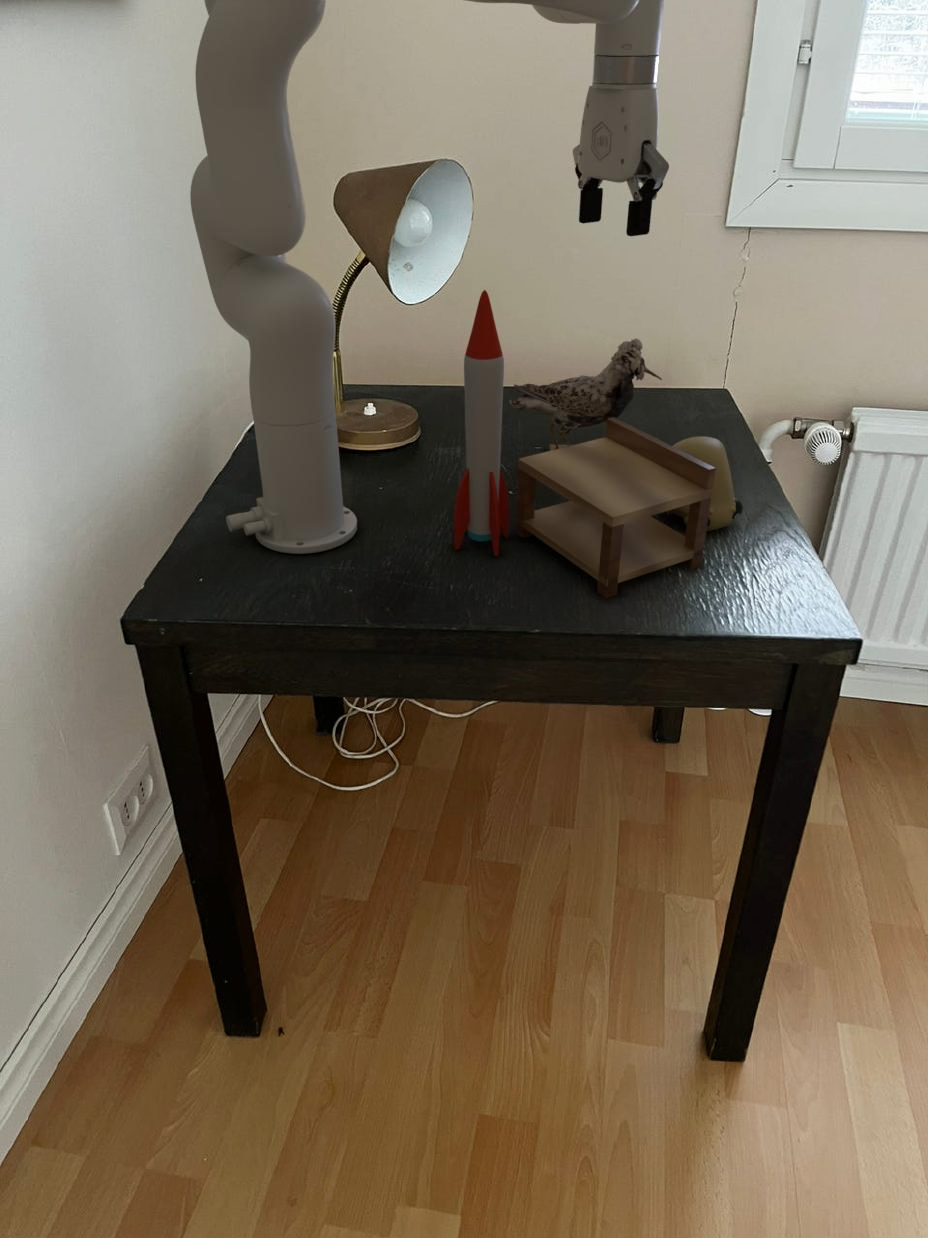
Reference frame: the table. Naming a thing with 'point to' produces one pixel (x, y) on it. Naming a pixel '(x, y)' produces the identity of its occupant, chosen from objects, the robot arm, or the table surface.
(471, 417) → the toy rocket
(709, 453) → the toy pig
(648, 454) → the rack
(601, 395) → the stuffed bird
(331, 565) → the table surface
